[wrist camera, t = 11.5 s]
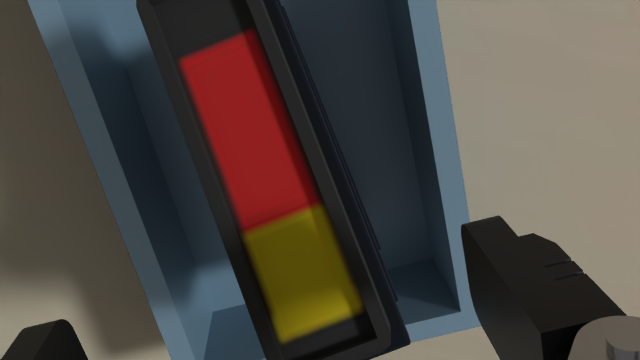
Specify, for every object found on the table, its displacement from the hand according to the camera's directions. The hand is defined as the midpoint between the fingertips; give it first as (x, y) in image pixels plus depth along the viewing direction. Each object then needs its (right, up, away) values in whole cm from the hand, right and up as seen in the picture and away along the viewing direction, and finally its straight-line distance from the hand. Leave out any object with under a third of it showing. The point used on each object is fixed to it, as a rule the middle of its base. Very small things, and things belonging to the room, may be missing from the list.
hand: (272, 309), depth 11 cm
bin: (-1, +6, +16) cm, 18 cm away
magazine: (-1, +6, +16) cm, 17 cm away
